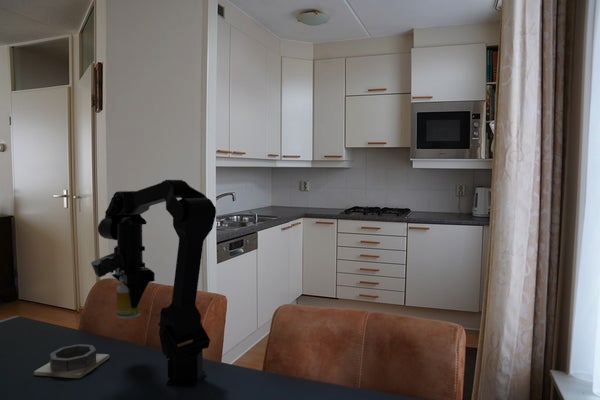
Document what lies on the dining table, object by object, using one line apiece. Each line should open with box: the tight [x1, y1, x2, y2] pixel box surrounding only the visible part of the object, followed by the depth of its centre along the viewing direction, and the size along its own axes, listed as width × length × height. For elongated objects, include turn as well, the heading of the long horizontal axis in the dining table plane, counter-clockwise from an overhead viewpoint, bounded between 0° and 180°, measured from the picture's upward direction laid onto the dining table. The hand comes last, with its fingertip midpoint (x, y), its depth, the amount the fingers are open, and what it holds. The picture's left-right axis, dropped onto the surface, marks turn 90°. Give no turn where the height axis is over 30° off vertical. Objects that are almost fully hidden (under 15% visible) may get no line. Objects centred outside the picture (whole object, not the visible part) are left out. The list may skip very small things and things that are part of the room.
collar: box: [33, 343, 110, 379], centre depth 99 cm, size 11×11×3 cm
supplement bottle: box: [116, 276, 141, 320], centre depth 105 cm, size 5×5×10 cm
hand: (130, 305), depth 105 cm, fingers closed on supplement bottle, 5 cm apart
